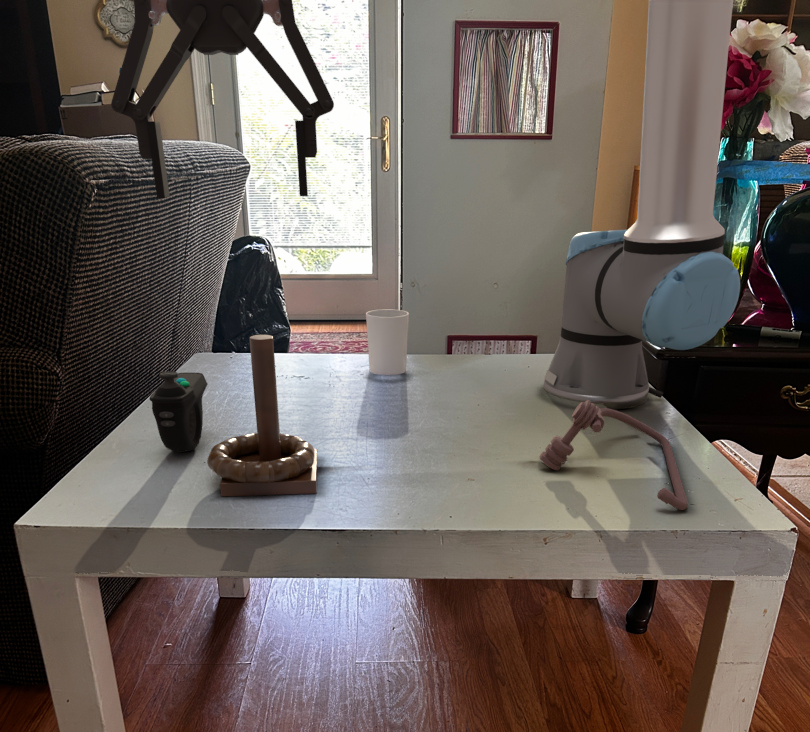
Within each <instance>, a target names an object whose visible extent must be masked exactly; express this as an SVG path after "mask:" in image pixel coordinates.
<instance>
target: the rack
mask: <svg viewBox="0 0 810 732" xmlns="http://www.w3.org/2000/svg"><path fill="white" fill-rule="evenodd" d="M248 339H249V350H250V360H251V361H250V363H251V374H252V385H253V399H254V409H255V411H254V412H255V421H256V423H255V424H256V433H257V435H258V447H259V453H252V454H247V455H242V456H238V457H236V458H234V460H239V461H245V462H266V461H273V460H278V459H282V458H287V457H289V456H291V455H288V454H283V453H281V443H280V433H281V432H280V431H281V430H280V418H279V417H280V415H279V402H278V388H277V386H278V385H277V373H276V359H275V358H276V357H275V346H274V345H275V344H274V336H273V335H270V334H254V335H251V336H249V338H248ZM314 451H315V454H314V463H313V465H312V467H311V468H309V469H308V470H306V471H304V472H303V473H301V474H299V475H298V476H296V477H293V478H289V479H285V480H280V481H276V482H271V483H242V482H237V481H232V480H228V479H223V478H221V480H220V483H219V487H220V488H219V489H220V496H221V497H244V496H245V497H247V496H248V497H249V496H279V495H280V496H281V495H312V494H313V495H315V494H317V492H318V465H317V464H318V449H317V448H314Z"/></svg>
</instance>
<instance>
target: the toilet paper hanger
mask: <svg viewBox="0 0 810 732" xmlns="http://www.w3.org/2000/svg"><path fill="white" fill-rule="evenodd" d="M604 417H607V418H612V419H615V420H618V421H619V422H623V423H624V424H627V425H629V426H630V427H633V428H635V429H637V430H638V431H640V432H642V433H643V434H645V435H647V436H648V437H649V438H652V439H653V440H654V441H656V442H657V443H659V444H660V445H661V447H662V450H663V454H664V458H665V462H666V467H667V469H668V473H669V477H670V480H671V484H672V487H673V490H674V491H673V492H672V491H671V490H669V489H667V488H666V487H662V488H661V489H659V490H658V492H657V495H656V497H657V499H659V500H660V501H661V502H663V503H665V504H666V505H667V504H669V505H671V506H672V507H674V508H675V509H677V510H680V511H685V510H686V509H687V508H688V507H689V503H688V502H689V501H688V499H687V496H686V492H685V489H684V486H683V485H684V484H683V482H682V478H681V475H680V472H679V469H678V465H677V462H676V458H675V455H674V451H673V449H672V445H671V442H670V441H669V439H668V438H667V437H665V435H663V434H661V433H660V432H659V431H656V429H654V428H652V427H650V425H649V426H648V425H647V424H645V423H644V422H642V421H640V420H639V419H637V418H634V417H632V416H630V415H629V414H626V413H624V412H622V411H619V410H617V409H608V408H607V407H599V406H597V405H596V403H591V402H590V401H589V400H587V401H586V402H580V403H578V405H577V406H576V407H575V409H574V410H573V413H572V414H571V418H573V419H572V421H571V423H572V424H571V426H570V427H569V428H568V430H567V431H566V433H565V434H564V435H563V436H559V435H555V436H554V437H553V438H552V439H551V440H550V443H549V444H547V445H546V446H545V448H544V451H542V452H541V453H540V455H539V459H540V460H541V462H542V463H543V464H545V466H546V467H548V468H550V469H552V470H554V471H559V470H560V469H561V467H562V466H563V464H564V463H566V461H567V460H568V459H569V458H568V457H569V456H571V455H572V454H573V452H574V446H573V445H572V444H571V443H572V442H573V440H574V439H575V438H576V436H577V435H578V434H579V432H580V431H581V430H583V431H585V430H586V429H587V428H590V429H591V430H592V431H593V432H594V433H596V434H597V433H600V432H601V431H602V429H603V428H604V426H605V419H604Z"/></svg>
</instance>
